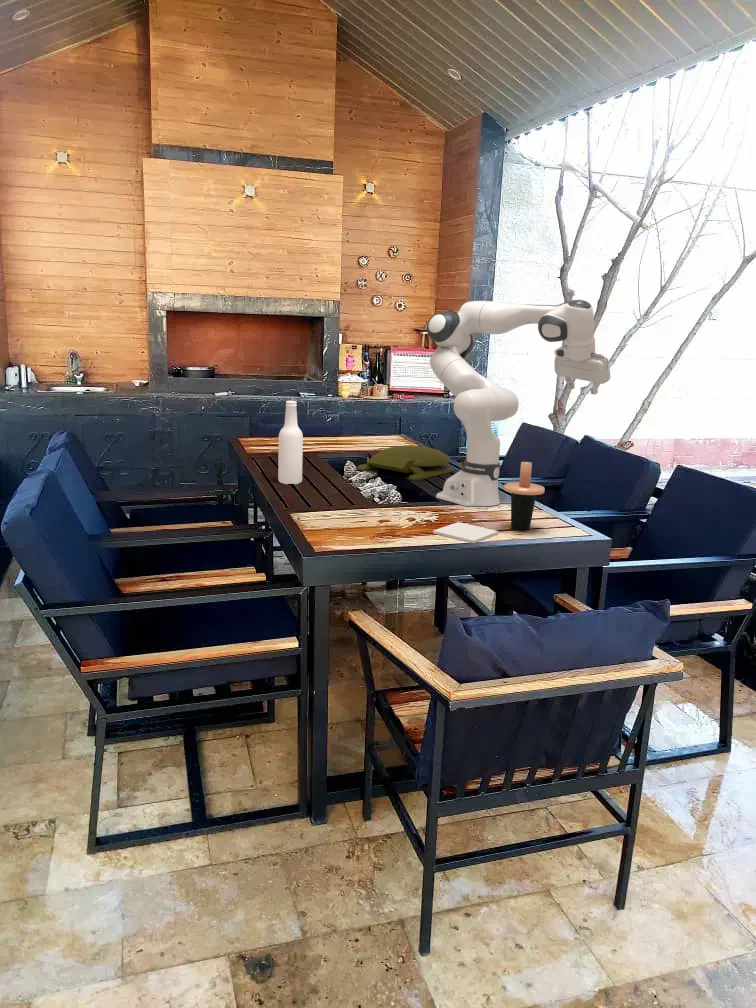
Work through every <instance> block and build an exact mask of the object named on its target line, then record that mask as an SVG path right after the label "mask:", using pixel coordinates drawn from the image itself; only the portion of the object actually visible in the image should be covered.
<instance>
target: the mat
mask: <svg viewBox="0 0 756 1008" xmlns="http://www.w3.org/2000/svg"><path fill="white" fill-rule="evenodd" d="M432 534H435V535H438V536H442V537H446V538H450V539H454V540H459V541H463V542H468V543H470V544H476V543H478V542H481V541H483V540H484V541H485V540H486V539H489V538H491V537H494V536H496V535H499V530H495V529H490V528H487V527H482V526H478V525H474V524H468V523H463V522H460V521H457V522H455V523H451V524H448V525H446V526H443V527H440V528H437V529H434V530H432Z"/></svg>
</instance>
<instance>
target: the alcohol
mask: <svg viewBox="0 0 756 1008" xmlns="http://www.w3.org/2000/svg"><path fill="white" fill-rule="evenodd" d="M297 403H298V401H296V400H286V401H285V414H284V423H283V424H284V425H283V427H282V428H280V431H279V433H278V458H277V459H278V461H277V462H278V465H277V467H278V469H277V470H278V474H277V475H278V476H277V480H278V482H279V483H280V484H282V483H283V484H282V485H288V484H294V485H299V483H300V484H301V483H302V482H303V458H304V457H303V451H304V450H303V449H304V448H303V446H304V443H303V442H304V436H303V434H304V433H303V431H302V430H301V429H300V427H299V425H298V412H297V411H298V410H297V409H298V408H297V406H298V405H297Z"/></svg>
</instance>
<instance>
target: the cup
mask: <svg viewBox="0 0 756 1008" xmlns="http://www.w3.org/2000/svg"><path fill="white" fill-rule="evenodd" d="M536 498H537V495H521V494H514V493H510V528H511V530H513V531H516V530H517V531H518V532H528V531H530V529H531V524H532V523H531V522H532V518H533V514H534V508H535V503H536ZM517 531H516V532H517Z"/></svg>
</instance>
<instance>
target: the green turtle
mask: <svg viewBox="0 0 756 1008" xmlns="http://www.w3.org/2000/svg"><path fill="white" fill-rule="evenodd" d="M450 462H451V458H450V457H449V456H448V455H447V454H446V453H444V452H442V451H441V450H439V449H435V448H432V447H427V446H420V445H415V444H414V445H409V444H408V445H394V446H391V447H386V448H385V449H382V450H380V451H379V452H378V453H377V454H373V455H372V456H371V457H370V458H369V459H368V461H367V463H363V464H359V465H358V466H356V470H357V471H360V472H367V471H372V470H376V469H381V470H383V469H384V470H389V471H392V472H393V471H394V472H399V473H405V474H410V473H413V474H410V475H409V476H408V480H410V481H412V482H419V481H424V480H428V479H431V478H435V477H439V476H442V475H447V474H450V473H453V472H454V468H453V467H451V466H448V465H447V464H449V463H450ZM445 465H447V466H445ZM435 466H436V467H437V466H441V467H438V468H434V469H429V470H426V471H424V470H423V469H422V468H421V467H435ZM371 469H372V470H371Z"/></svg>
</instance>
